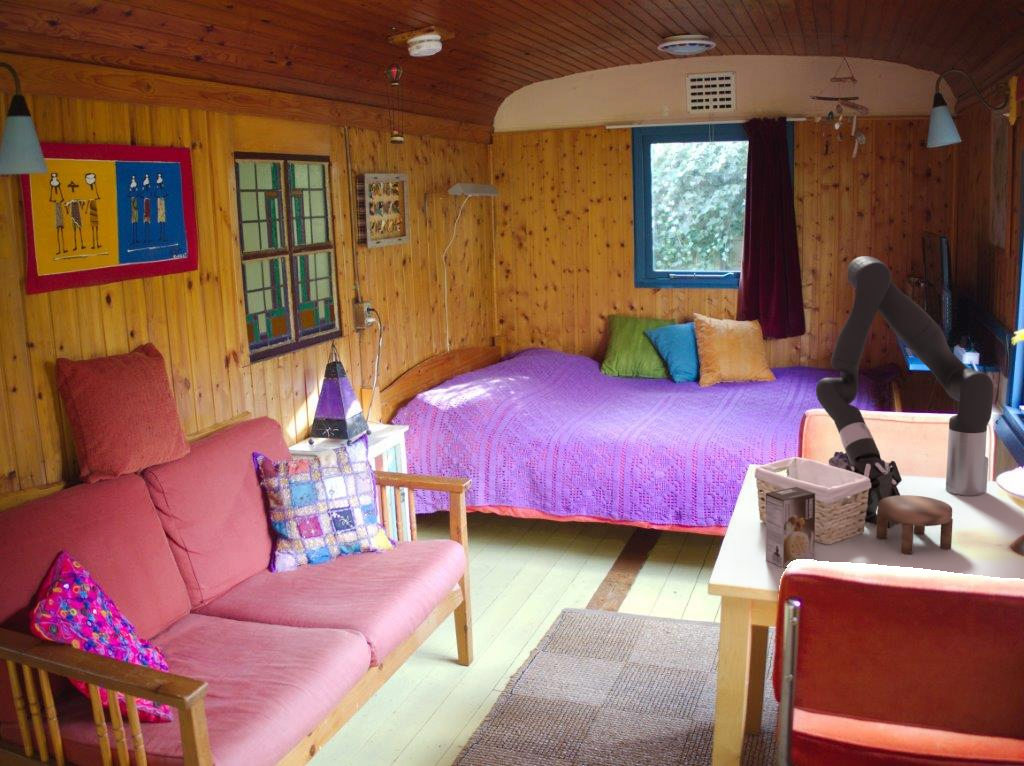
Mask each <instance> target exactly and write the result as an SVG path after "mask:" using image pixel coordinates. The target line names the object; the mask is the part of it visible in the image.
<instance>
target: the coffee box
mask: <svg viewBox="0 0 1024 766" xmlns="http://www.w3.org/2000/svg"><path fill="white" fill-rule="evenodd" d="M815 542H816V541H815V493H813V492H810V491H807V490H804V489H801V488H798V487H793V488H788V489H783V490H779V491H774V492H769V493H766V523H765V560H766V561H768V562H770V563H772V564H774V565H776V566H778V567H781V568H783V569H785V567H786V566H787V565H788V564H789V563H790V562H791V561H793V560H796V559H814V560H815V549H816V548H815ZM786 568H787V567H786Z"/></svg>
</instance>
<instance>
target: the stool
mask: <svg viewBox="0 0 1024 766" xmlns="http://www.w3.org/2000/svg"><path fill="white" fill-rule="evenodd" d="M876 514H877V525H876V532H875V533H876V535H875V537H876V539H877V540H881V541H883V540H887V539H888V528H887V526H888V520H889V521H892V522H895V523H898V524H900V525H901V544H900V547H901V548H900V553H901V554H903V555H908V556H909V555H913V548H914V545H913V544H914V535H917V536H918V535H919V536H922V535H925V533H926V532H925V531H926V529H925V528H926V527H934V526H935V527H936V526H940V537H939V542H940V543H939V548H940V549H942V550H946V551H947V550H952V541H953V540H952V538H953V523H954V519H953V507H952V506H951V505H950V504H949V503H947V502H945V501H942V500H939V499H937V498H933V497H928V496H923V495H913V494H912V495H911V494H910V495H909V494H908V495H907V494H906V495H905V494H902V495H901V494H900V495H898V496H890V497H886V498H883V499H881V500H880V501H879V502H878V507H877V511H876Z"/></svg>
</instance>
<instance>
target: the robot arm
mask: <svg viewBox="0 0 1024 766" xmlns="http://www.w3.org/2000/svg"><path fill="white" fill-rule="evenodd" d="M846 274H847V275H846V277H847V281H848V282H849V283H848V284H850V286H851V287H852V288H853V289H854V290H855V294H854V301H853V305H852V309H851V311H850V314H849V315H848V318H847V320H846V321H845V323H844V324H843V327H842V328H841V330H840V332H839V334H838V336H837V338H836V341H835V344H834V349H833V351H832V356H831V359H830V366H831V368H832V369H834V370H836V371H838V372H840V376H839V377H824V378H821V379H820V380H819V381H818V383H817V384H816V386H815V387H816V388H815V394H816V398H817V401H818V402H819V404H820V405H821V407H823V408H822V409H824V411H825V412H826V413H827V414H828V415H829V417H830V418H831V419H832V420H833V422H834V425H835V427H836V429H837V432H838V434H839V437H840V441H841V444H842V446H843V449H844V451H845V453H846V454H847V456H848V458H849V461H850V463H851V465H852V467H850V466H846V467H845V470H848V471H851V472H855V473H858V474H861V475H863V476H866V477H868V478H869V479H870V478H872V477H874V476H876V475H879V474H881V473H883V472H886V473H884V474H887V473H888V472H889V473H890V474H891V475H892V478H893V480H892V487H893V493H894V496H898V495H901V494H900V491H899V489H898V485H900V483H901V482H902V477H901V474H900V472H899V469H898V465H897V463H896V461H894V460H891V461H890V462H886V463H884V462H883V461H882V460H883V459H882V457H881V453H880V450H879V449H878V447H877V444H876V441H875V440H874V439H875V438H874V437H873V434H872V433H871V430H870V428H869V427H868V426H867V424H866V422H865V420H864V417H863V414H862V412H861V411H860V409H859V407H857V406H855V405H853V404H851V403H852V402H853V401H855V399H856V398H857V395H858V392H859V390H858V389H859V366H860V362H861V359H862V354H863V351H864V348H865V346H866V345H865V344H866V342H867V338H868V336H869V332H870V329H871V327H872V325H873V323H874V319H875V318H876V315H877V312H879V313H880V315H881V316H882V317H883V319H884V320H885V322H886V323H887V325H888V326H889V327H890V328H891V330H892V331H893V332H894V333H895V334H896V336H897V337H898V338H899V339H900V340H901V341H902V343H903V344H904V346H906V347H907V348H908V349H909V351H911V352H912V353H913V355H915V357H917V358H918V360H920V362H921V363H922V364H923V365H925V366H926V367H927V368H928V369H929V371H931V373H932V374H933V375H934V377H935V378H936V379H937V381H938V383H939V384H940V385H941V387H942V388H943V390H944V391H945V393H947V395H948V396H949V397H950V398H951V399H953V400H954V401H956V402H958V409H957V414H956V415H955V414H954V415H952V416H951V417H950V418H949V420H948V439H947V457H946V475H945V476H946V478H945V490H946V491H947V492H949V493H950V494H954V495H960V496H969V497H970V496H979V495H981V494H983V493H987V492H988V491H987V490H988V488H987V487H988V476H989V475H988V472H989V457H987V456H986V449H987V448H986V446H987V433H988V432H987V431H988V425H989V423H990V420H991V418H992V412H993V411H992V410H993V402H994V394H995V393H994V391H995V389H994V383H993V380H992V378H991V377H990V376H989V375H988V374H986V373H984V372H982V371H979V370H975V369H973V368H970V367H969V366H967V365H966V364H964V363H963V361H961V360H960V359H959V358H958V357H957V356H956V355H955V354H954V353H953V352H952V350H951V348H950V347H949V344H948V341H947V338H946V336H945V334H944V331H943V330H942V329H941V327H940V326H939V324H937V322H936V321H935V320H934V319H933V318H932V317H931V315H929V313H927V312H926V310H924V309H923V308H922V307H921V306H920V305H919V304H918V303H916V302H915V301H914V300H913V299H911V298H910V297H909V296H908V295H906V294H905V293H904V292H902V290H901V289H899V287H897V285H896V284H895V282H894V281H893V280H892V273H891V270H890V268H889V267H888V266H887V264H885V263H884V262H882V261H880V260H879V259H878V258H876V257H872V256H869V255H868V256H867V255H862V256H858V257H856V258H854V259H853V260H852V261H851V262H850V263H849V265H848V267H847V272H846ZM881 459H882V460H881ZM884 468H886V469H887V471H886V470H885V469H884ZM884 474H883V475H884ZM872 502H873V499H872V497H871V494H870V492H868V502H867V505H871V503H872Z"/></svg>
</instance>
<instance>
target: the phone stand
mask: <svg viewBox="0 0 1024 766" xmlns="http://www.w3.org/2000/svg"><path fill="white" fill-rule="evenodd" d="M884 473H886V472H883V473H881V474H879V475H876V476H874V477H872V478H870V483H871V488H869V492H870V494H871V497H872V499H873V502H872V503H871V505H868V507H867V510H866V518H865V523H868V524H872V525H876V526H877V509H878V502H879V501H880V500H881V499H883V498H886V497H890V496H894V493H893V487H892V480H893V478H892V475H891V474H890V473H887V474H884ZM883 474H884V475H883ZM860 520H862V519H860ZM898 524H899V523H895V522H892V521H889V520H888V526H887V529H889V528H892V527H894V526H895V525H898Z"/></svg>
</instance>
